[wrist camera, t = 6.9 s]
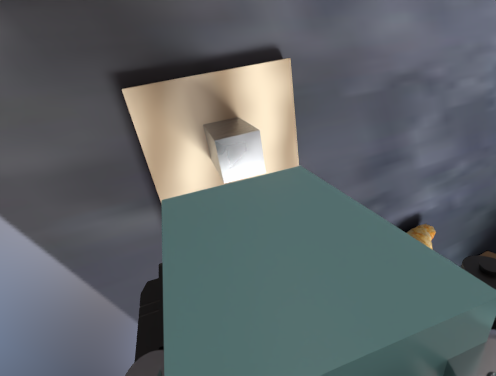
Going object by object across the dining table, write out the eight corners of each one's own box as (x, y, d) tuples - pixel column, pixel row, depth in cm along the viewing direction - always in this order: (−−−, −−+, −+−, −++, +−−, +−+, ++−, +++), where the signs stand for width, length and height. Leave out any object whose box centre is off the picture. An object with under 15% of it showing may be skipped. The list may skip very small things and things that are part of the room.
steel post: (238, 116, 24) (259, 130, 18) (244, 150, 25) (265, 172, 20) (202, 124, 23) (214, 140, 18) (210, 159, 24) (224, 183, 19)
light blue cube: (300, 165, 11) (503, 295, 5) (306, 270, 14) (444, 454, 7) (161, 200, 10) (165, 443, 3) (194, 308, 13) (235, 574, 6)
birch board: (283, 58, 24) (290, 58, 23) (300, 249, 34) (306, 256, 33) (124, 88, 22) (121, 89, 20) (191, 285, 31) (193, 294, 30)
